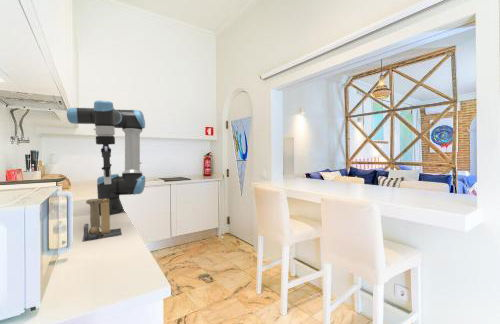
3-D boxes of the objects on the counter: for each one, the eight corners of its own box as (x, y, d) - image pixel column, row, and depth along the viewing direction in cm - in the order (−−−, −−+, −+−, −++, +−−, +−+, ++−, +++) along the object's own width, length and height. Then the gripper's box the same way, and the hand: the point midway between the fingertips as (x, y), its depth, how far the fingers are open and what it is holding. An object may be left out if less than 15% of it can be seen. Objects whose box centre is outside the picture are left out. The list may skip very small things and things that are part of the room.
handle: (102, 231, 118) (101, 200, 117) (86, 233, 115) (85, 201, 114) (104, 228, 122) (102, 198, 121) (88, 230, 120) (87, 199, 119)
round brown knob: (91, 234, 109) (91, 225, 109) (101, 233, 110) (101, 225, 109) (87, 237, 105) (86, 228, 105) (97, 237, 106) (97, 227, 105)
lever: (101, 232, 110) (99, 198, 109) (110, 231, 112) (109, 197, 111) (101, 235, 107) (99, 200, 106) (110, 233, 109) (109, 199, 108)
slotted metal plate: (84, 237, 110) (83, 222, 110) (120, 231, 117) (120, 217, 117) (82, 245, 101) (81, 229, 100) (122, 238, 108) (121, 223, 108)
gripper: (96, 136, 121) (98, 178, 122) (94, 135, 99) (97, 187, 101) (113, 136, 124) (115, 177, 126) (115, 135, 103) (118, 185, 105)
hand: (107, 181), depth 114 cm, fingers open, 13 cm apart
